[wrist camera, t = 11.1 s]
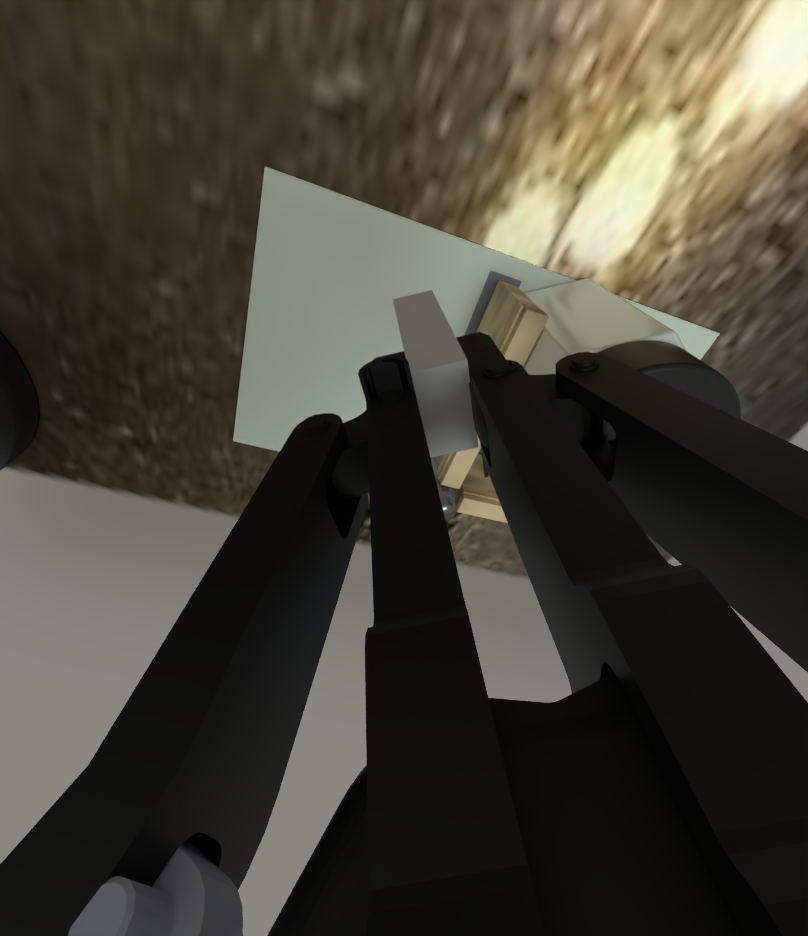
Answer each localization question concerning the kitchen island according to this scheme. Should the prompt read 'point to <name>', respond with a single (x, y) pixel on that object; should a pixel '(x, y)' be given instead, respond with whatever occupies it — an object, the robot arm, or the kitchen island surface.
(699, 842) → the robot arm
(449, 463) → the fence panel
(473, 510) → the fixed panel
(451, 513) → the hinge post
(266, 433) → the board
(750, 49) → the kitchen island surface
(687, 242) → the kitchen island surface
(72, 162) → the kitchen island surface
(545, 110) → the kitchen island surface
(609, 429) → the jar
